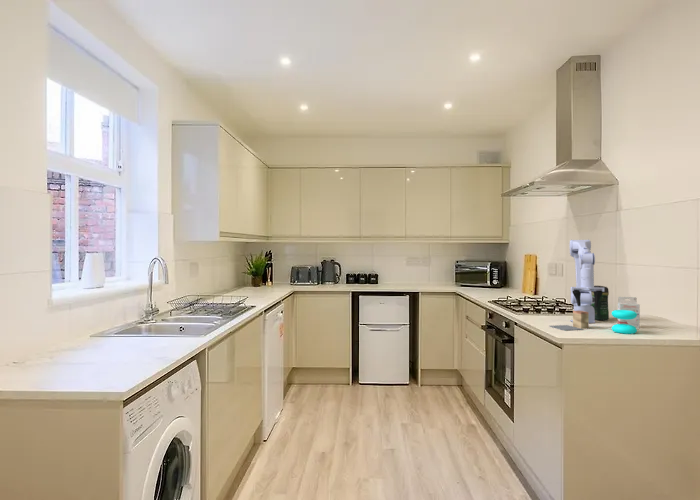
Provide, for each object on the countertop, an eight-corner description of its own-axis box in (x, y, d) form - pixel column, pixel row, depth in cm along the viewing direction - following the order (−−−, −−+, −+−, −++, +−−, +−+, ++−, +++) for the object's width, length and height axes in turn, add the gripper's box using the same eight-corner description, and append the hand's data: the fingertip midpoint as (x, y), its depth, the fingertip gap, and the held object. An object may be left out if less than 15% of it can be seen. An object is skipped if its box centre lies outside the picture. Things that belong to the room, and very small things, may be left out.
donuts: (607, 310, 205) (618, 308, 210) (607, 331, 205) (618, 329, 210) (630, 313, 196) (641, 311, 202) (630, 335, 196) (641, 333, 202)
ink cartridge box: (619, 327, 216) (619, 297, 216) (617, 325, 221) (617, 296, 221) (640, 328, 213) (639, 298, 213) (637, 326, 218) (636, 297, 218)
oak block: (580, 326, 219) (580, 310, 219) (588, 328, 214) (588, 312, 214) (573, 326, 219) (572, 310, 219) (581, 328, 213) (581, 312, 213)
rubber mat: (567, 325, 222) (567, 325, 222) (583, 329, 210) (583, 329, 210) (549, 326, 220) (549, 325, 220) (564, 330, 208) (564, 329, 208)
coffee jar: (611, 320, 237) (611, 286, 237) (597, 320, 236) (597, 286, 236) (600, 317, 246) (599, 284, 246) (586, 318, 246) (586, 285, 246)
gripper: (573, 277, 210) (573, 306, 209) (606, 278, 207) (607, 307, 206) (569, 277, 217) (569, 305, 216) (601, 278, 214) (601, 306, 213)
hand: (587, 306), depth 212 cm, fingers open, 7 cm apart
